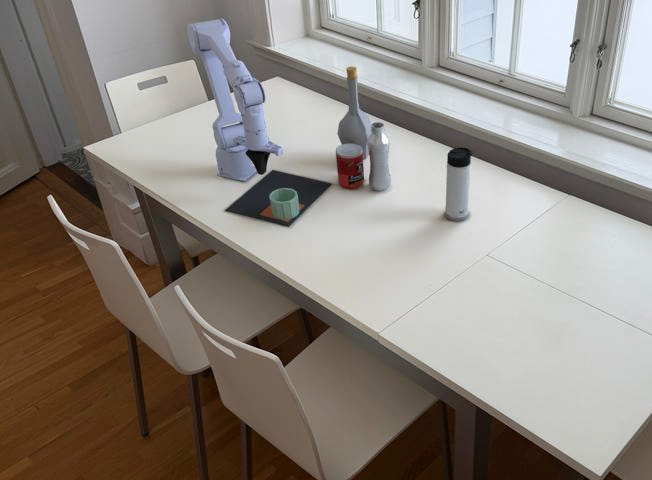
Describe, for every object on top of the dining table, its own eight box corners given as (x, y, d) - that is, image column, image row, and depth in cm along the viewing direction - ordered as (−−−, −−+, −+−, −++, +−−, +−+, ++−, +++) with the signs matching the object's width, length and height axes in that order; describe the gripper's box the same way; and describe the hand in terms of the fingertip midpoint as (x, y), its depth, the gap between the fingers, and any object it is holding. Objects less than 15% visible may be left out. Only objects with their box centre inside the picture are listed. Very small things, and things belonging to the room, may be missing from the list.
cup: (268, 218, 181) (265, 200, 177) (277, 203, 186) (275, 186, 183) (294, 221, 180) (291, 204, 176) (303, 206, 186) (301, 189, 182)
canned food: (352, 192, 193) (349, 159, 186) (332, 183, 197) (329, 150, 190) (370, 182, 198) (368, 149, 191) (350, 173, 201) (348, 140, 195)
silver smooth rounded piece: (393, 182, 198) (391, 120, 186) (389, 194, 193) (387, 131, 180) (371, 180, 198) (368, 118, 186) (367, 192, 193) (363, 129, 181)
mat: (225, 210, 184) (225, 209, 183) (272, 170, 201) (272, 169, 201) (288, 226, 178) (288, 225, 178) (331, 184, 196) (331, 183, 196)
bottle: (334, 157, 209) (326, 64, 191) (368, 150, 213) (363, 59, 195) (345, 173, 201) (338, 78, 183) (380, 167, 205) (376, 73, 187)
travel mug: (466, 222, 182) (470, 157, 170) (443, 219, 183) (445, 154, 171) (470, 210, 187) (474, 146, 175) (448, 207, 188) (450, 143, 176)
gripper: (286, 127, 175) (292, 172, 183) (241, 115, 179) (249, 160, 187) (270, 138, 169) (277, 184, 178) (224, 126, 174) (233, 171, 182)
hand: (262, 172), depth 182 cm, fingers closed
